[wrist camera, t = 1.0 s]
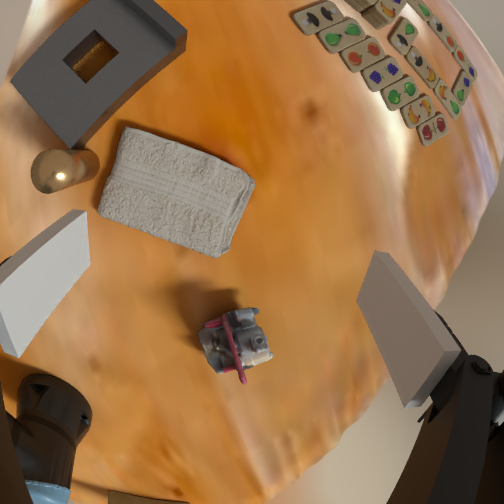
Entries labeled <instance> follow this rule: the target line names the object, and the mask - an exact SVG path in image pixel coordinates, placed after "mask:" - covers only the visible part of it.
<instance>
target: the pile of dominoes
mask: <svg viewBox="0 0 504 504" xmlns="http://www.w3.org/2000/svg"><path fill="white" fill-rule="evenodd" d="M344 1H345V2H347V3H348V4H349V5H350V6H351V7H352V8H354V9H355V10H356V11H357V12H362V16H363V18H364V19H366V20H367V21H368V22H369V23H370V24H371V25H372V26H373V27H374V28H375V29H378V30H379V29H381V28H382V27H384V26H386V25H388V24H390V23H392V22H393V21H394V20H395V19H396V17H397V16H398V15H399V13H400V12H401V10H402V9H403V8H404V6H405V5H406V2H407V3H408V4H409V5H410V6H411V7H412V8H413V9H414V10H415V11H416V13H417V14H418V15H419V16H420V17H421V18H422V19H423V20H424V21H426V22H427V23H428V25H429V26H430V28H431V29H432V30H433V31H434V32H435V34H436V35H437V36H438V37H439V39H440V40H441V41H442V42H443V44H444V45H445V46H446V47H447V49H448V50H449V51H450V52H452V55H453V57H454V59H455V60H456V61H457V63H458V64H459V66H460V67H461V68H462V70H463V71H461V72H460V74H459V76H458V79H457V81H456V83H455V85H454V87H453V89H452V92H451V90H450V89H449V88H448V86H447V85H446V84H445V82H444V81H443V80H442V79H439V77H438V74H437V73H436V72H435V70H434V69H433V68H432V66H431V65H430V64H429V63H428V61H427V60H426V59H425V58H424V57H423V55H422V54H421V53H420V52H419V51H418V49H417V48H416V47H414V46H411V45H412V43H413V42H414V40H415V38H416V37H417V35H418V30H417V28H416V27H415V26H414V25H413V24H412V23H411V22H410V21H409V20H408V19H407V18H402V19H401V20H400V21H399V23H398V25H397V26H396V28H395V29H394V31H393V32H392V34H391V35H390V37H389V43H390V44H391V45H392V46H393V47H394V48H395V49H396V50H397V51H398V52H399V53H400V54H401V55H404V56H405V59H406V61H407V62H408V63H409V64H410V66H411V67H412V68H413V69H414V70H415V71H416V73H417V74H418V75H419V76H420V77H421V79H422V80H423V81H424V82H425V84H426V85H427V86H428V87H429V88H430V89H433V92H434V94H435V95H436V96H437V98H438V99H439V100H440V102H441V103H442V104H443V106H444V107H445V109H446V110H447V111H448V113H449V114H450V116H451V117H452V118H453V119H457V118H458V116H459V114H460V112H461V106H463V105H464V104H465V102H466V99H467V97H468V95H469V93H470V90H471V88H472V83H473V82H475V80H476V77H477V71H476V69H475V67H474V66H473V65H472V63H471V62H470V60H469V59H468V57H467V56H466V55H465V53H464V52H463V50H462V49H461V48H460V46H457V42H456V40H455V39H454V38H453V37H452V35H451V34H450V33H449V31H448V30H447V29H446V27H445V26H444V25H443V24H442V23H441V21H440V20H439V19H438V18H437V16H435V15H432V11H431V10H430V9H429V7H428V6H427V5H426V4H425V3H424V2H423V1H422V0H344ZM343 19H344V17H343V14H342V13H341V12H340V10H339V9H338V8H337V6H336V5H335V4H334V3H333V2H331V1H326V2H323V3H320V4H317V5H315V6H312V7H309V8H307V9H304V10H301V11H299V12H297V13H295V14H294V15H293V16H292V20H293V21H294V23H295V24H296V25H297V26H298V28H299V29H300V30H301V32H302V33H303V34H304V35H307V36H310V35H312V34H314V33H317V37H318V39H319V40H320V42H321V43H322V44H323V46H324V47H325V49H326V50H327V51H328V52H329V53H331V54H335V53H337V52H340V56H341V58H342V59H343V61H344V63H345V64H346V66H347V67H348V69H349V70H350V71H351V72H353V73H356V72H358V71H361V74H362V76H363V78H364V80H365V82H366V84H367V86H368V88H369V89H370V90H371V91H372V92H377V91H379V90H381V95H382V97H383V99H384V101H385V103H386V105H387V107H388V109H389V110H390V111H395V110H397V109H399V108H401V109H400V110H401V114H402V117H403V119H404V121H405V124H406V126H407V127H408V128H409V129H412V128H414V127H416V126H417V132H418V135H419V138H420V141H421V143H422V145H423V146H428V145H430V144H431V143H433V142H435V141H436V140H438V139H439V138H441V137H443V136H444V135H446V134H447V133H448V125H447V122H446V119H445V116H444V115H443V114H442V113H438V114H436V115H435V109H434V106H433V104H432V101H431V98H430V97H429V96H428V95H423V96H421V97H419V90H418V88H417V86H416V84H415V82H414V80H413V78H412V77H410V76H406V77H404V78H402V76H403V73H402V70H401V68H400V67H399V65H398V63H397V61H396V59H395V58H393V57H387V58H385V59H383V58H384V56H385V53H384V51H383V49H382V48H381V46H380V44H379V43H378V41H377V40H376V39H375V38H374V37H369V38H366V39H365V37H366V34H365V32H364V31H363V29H362V28H361V26H360V25H359V23H358V22H357V21H356V20H355V19H353V18H350V19H347V20H344V21H343ZM418 97H419V98H418Z"/></svg>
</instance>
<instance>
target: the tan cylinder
mask: <svg viewBox="0 0 504 504" xmlns="http://www.w3.org/2000/svg"><path fill="white" fill-rule="evenodd" d="M99 167H100V162H99V158H98V156H97V155H96V154H95V153H94V152H92V151H89V150H58V149H50V150H45V151H43V152H41V153H40V154H39V155H37V157H36V158H35V159H34V161H33V164H32V167H31V179H32V182H33V184H34V186H35V187H36V189H37V190H39V191H40V192H42V193H46V194H50V193H54V192H56V191H59V190H62V189H65V188H68V187H71V186H74V185H77V184H80V183H83V182H87V181H90V180H92V179H93V178H94V177H95V176H96V175H97V173H98V171H99Z"/></svg>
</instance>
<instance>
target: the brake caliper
mask: <svg viewBox="0 0 504 504" xmlns="http://www.w3.org/2000/svg"><path fill="white" fill-rule="evenodd" d="M258 313H259V309H257V308H250V307H248V308H243V309H238V310H234V311H230V312H226V313H224V314H222V315H221V316H220V317H218V318H216V319H213V320H209V321H207V322H205V323H204V328H203V329H202V330H200V331H199V333H198V337H199V341H200V344H201V345H202V346H203V349H204V352H205V356H206V358H207V361H208V363H209V364H210V365H211V367H212V368H213V369H214V370H215V372H217V373H218V374H221V373H226V372H229V371H232V370H235V369H236V370H237V371H238V375H239V379H240V381H241V383H243V384H246V383H247V380H246V377H245V373H244V370H245V369H249V368H251V367H253V366H255V365H257V364H260V363H263V362H265V361H267V360H270V359H272V358H273V353H272V352H270V349H269V346H268V343H267V342H268V339H267V337H266V336H265V335H264V332H263V331H262V328H261V327H259V326H257V324H256V320H255V318H254V316H255V315H256V314H258Z"/></svg>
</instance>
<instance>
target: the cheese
mask: <svg viewBox="0 0 504 504" xmlns="http://www.w3.org/2000/svg"><path fill="white" fill-rule="evenodd" d="M108 504H190V503H185V502H172V501H163V500H155V499H149V498H144V497H139V496H134V495H130V494H125V493H121V492H116V491H109V493H108Z"/></svg>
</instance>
